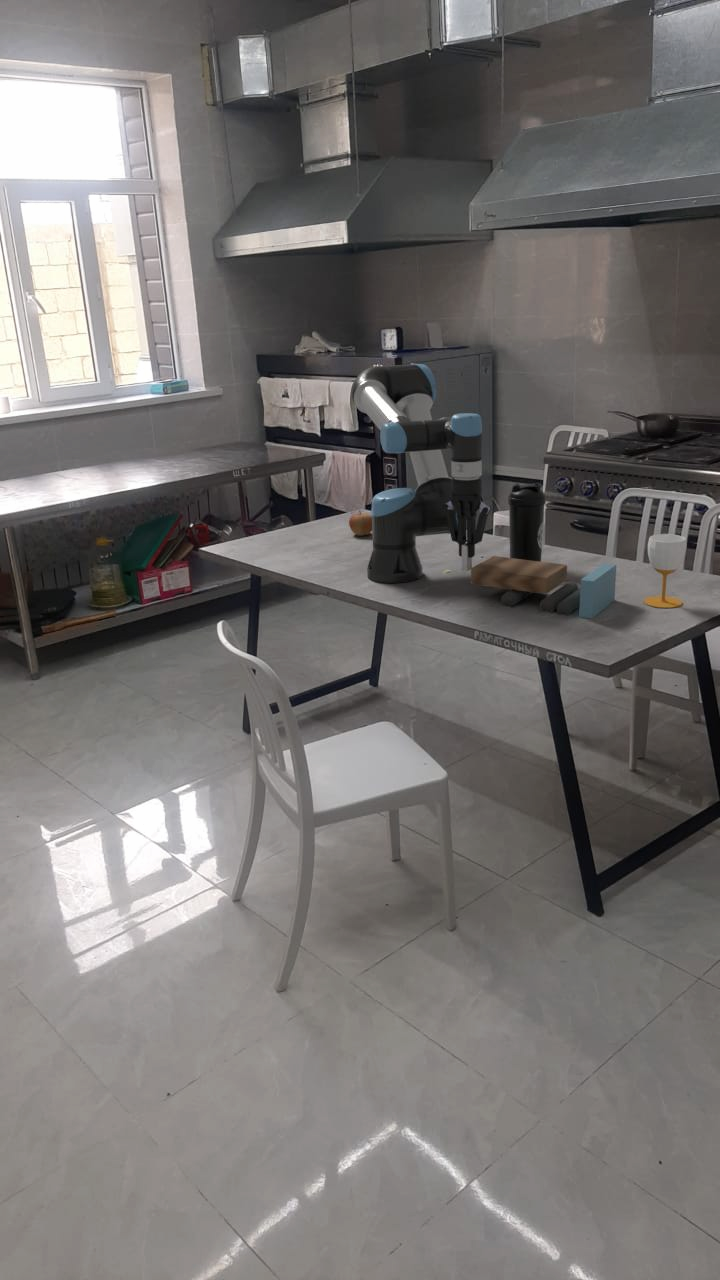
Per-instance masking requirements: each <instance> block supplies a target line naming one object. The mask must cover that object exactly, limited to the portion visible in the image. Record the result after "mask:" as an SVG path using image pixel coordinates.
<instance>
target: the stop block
mask: <svg viewBox="0 0 720 1280" xmlns="http://www.w3.org/2000/svg"><path fill="white" fill-rule="evenodd" d="M616 577H617V564H615V563H607V562H606V563H605V562H604V563H602V564H601V565H599V566H598V567H597V568H596V569H594V570H593V571H591V572H590V573H588V574H587V575H585V576H584V577H583V578H581V579H580V587H579V588H580V606H579V607H578V608H579V609H578V610H579V612H578V613H579V614H578V617H580V618H586V619H593V618H595V616H597V614H599V613H600V612H602V611H603V610H604V609H605V608H606V607H607V606H609V605H610V604H611V603H612V602H614V601H615V599H616V598H615V597H616V581H617V580H616Z"/></svg>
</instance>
